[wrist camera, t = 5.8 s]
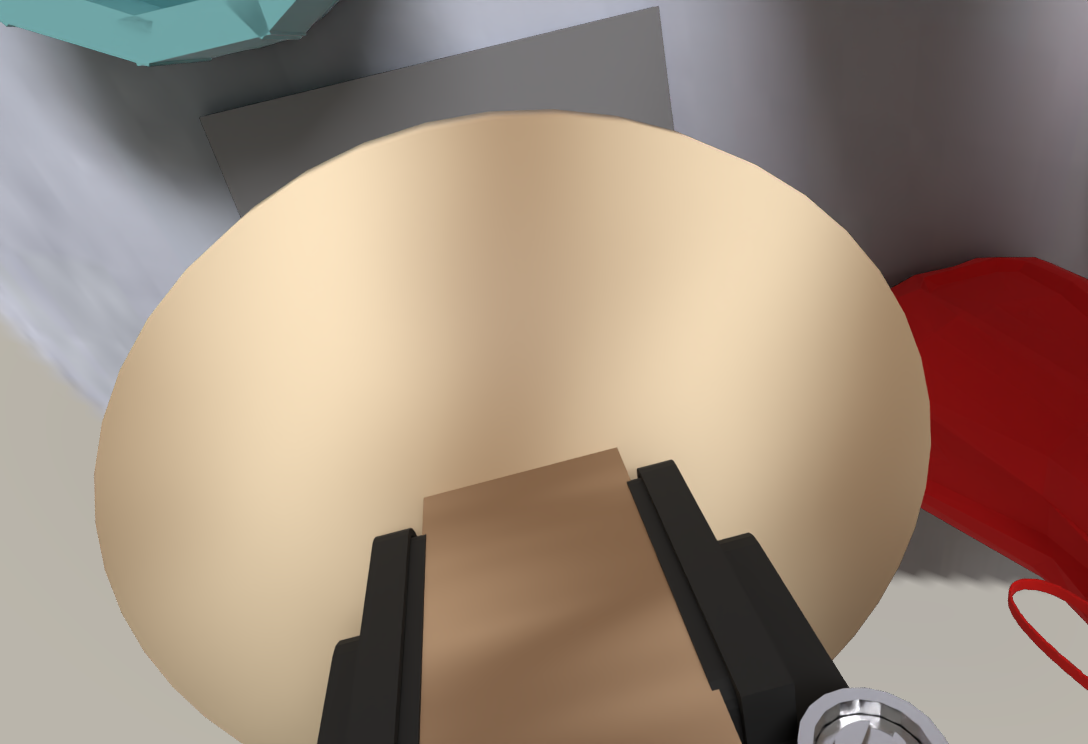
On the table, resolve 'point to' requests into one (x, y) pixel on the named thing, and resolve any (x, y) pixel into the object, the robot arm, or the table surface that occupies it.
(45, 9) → the bowl
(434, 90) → the mat
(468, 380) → the lid
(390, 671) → the robot arm
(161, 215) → the table surface
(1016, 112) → the table surface
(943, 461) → the water bottle
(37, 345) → the table surface
